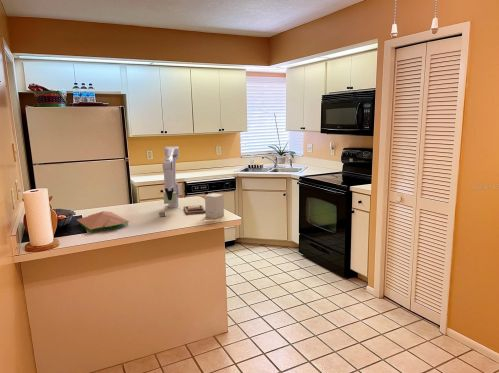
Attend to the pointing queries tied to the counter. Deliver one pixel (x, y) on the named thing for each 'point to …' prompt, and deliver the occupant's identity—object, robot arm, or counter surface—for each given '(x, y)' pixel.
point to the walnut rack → (194, 210)
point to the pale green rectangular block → (169, 200)
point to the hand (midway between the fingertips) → (169, 199)
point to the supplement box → (214, 205)
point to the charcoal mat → (162, 214)
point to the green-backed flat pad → (102, 221)
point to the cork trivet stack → (193, 207)
